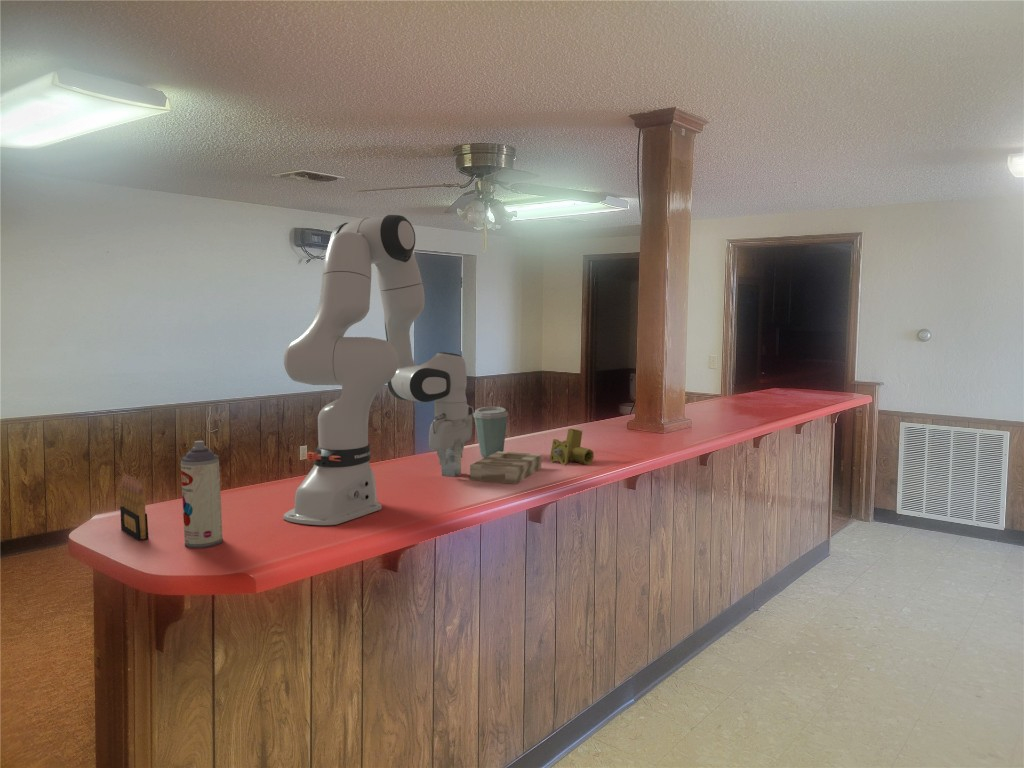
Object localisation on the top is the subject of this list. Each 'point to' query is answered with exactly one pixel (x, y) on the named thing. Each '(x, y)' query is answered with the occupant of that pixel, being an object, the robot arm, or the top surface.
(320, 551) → the top surface
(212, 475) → the aerosol can
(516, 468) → the tan flat slatted block
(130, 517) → the ammunition clip
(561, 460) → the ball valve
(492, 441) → the disposable coffee cup
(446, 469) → the square bit
